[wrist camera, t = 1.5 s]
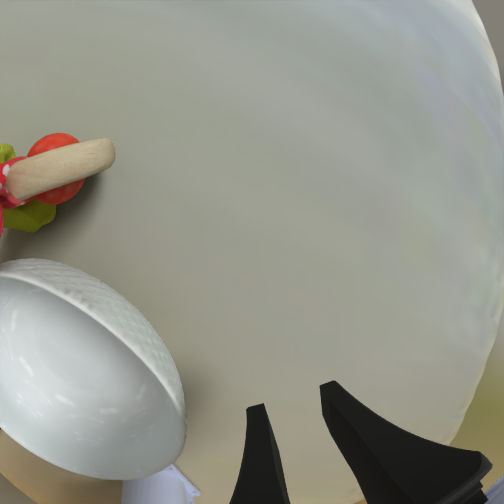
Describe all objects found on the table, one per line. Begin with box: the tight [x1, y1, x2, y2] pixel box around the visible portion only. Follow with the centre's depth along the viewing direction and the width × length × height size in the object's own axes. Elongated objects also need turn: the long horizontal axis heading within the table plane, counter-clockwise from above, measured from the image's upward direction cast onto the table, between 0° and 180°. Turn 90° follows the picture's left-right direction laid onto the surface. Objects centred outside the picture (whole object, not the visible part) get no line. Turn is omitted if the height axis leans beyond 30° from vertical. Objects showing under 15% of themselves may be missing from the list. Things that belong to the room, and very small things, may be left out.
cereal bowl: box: [0, 258, 187, 480], centre depth 14 cm, size 17×17×7 cm
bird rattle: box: [0, 133, 115, 237], centre depth 10 cm, size 6×11×9 cm
